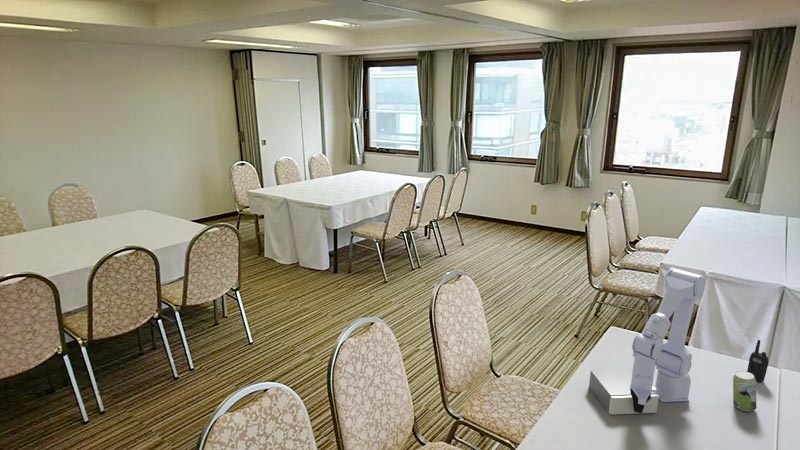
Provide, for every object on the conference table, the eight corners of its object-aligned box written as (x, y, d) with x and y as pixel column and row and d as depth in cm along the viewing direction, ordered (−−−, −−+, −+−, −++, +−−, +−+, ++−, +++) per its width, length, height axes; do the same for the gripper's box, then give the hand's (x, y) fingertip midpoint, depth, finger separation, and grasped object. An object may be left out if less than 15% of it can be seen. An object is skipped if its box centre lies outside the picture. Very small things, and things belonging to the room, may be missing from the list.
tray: (633, 387, 164) (635, 371, 162) (656, 412, 151) (658, 396, 149) (590, 389, 163) (592, 373, 161) (610, 414, 150) (612, 398, 148)
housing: (631, 385, 165) (633, 368, 164) (654, 411, 152) (657, 393, 150) (588, 387, 165) (590, 370, 163) (608, 413, 151) (610, 395, 149)
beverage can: (759, 415, 150) (766, 381, 147) (733, 412, 151) (740, 378, 148) (749, 402, 156) (756, 370, 153) (724, 400, 157) (730, 368, 154)
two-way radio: (743, 376, 170) (751, 339, 166) (750, 373, 172) (758, 335, 168) (761, 384, 166) (770, 345, 162) (767, 380, 168) (776, 342, 164)
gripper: (660, 388, 137) (654, 429, 140) (656, 363, 149) (650, 401, 153) (633, 383, 139) (627, 423, 143) (631, 359, 152) (626, 396, 156)
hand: (637, 411), depth 148 cm, fingers closed
